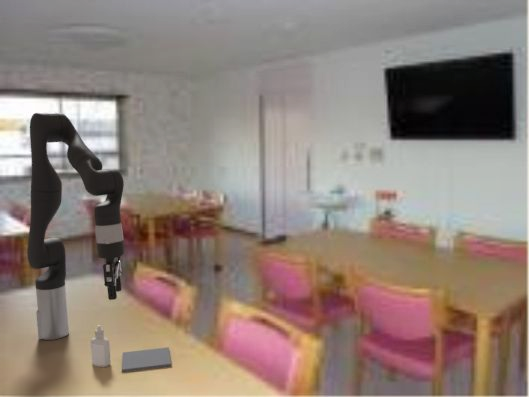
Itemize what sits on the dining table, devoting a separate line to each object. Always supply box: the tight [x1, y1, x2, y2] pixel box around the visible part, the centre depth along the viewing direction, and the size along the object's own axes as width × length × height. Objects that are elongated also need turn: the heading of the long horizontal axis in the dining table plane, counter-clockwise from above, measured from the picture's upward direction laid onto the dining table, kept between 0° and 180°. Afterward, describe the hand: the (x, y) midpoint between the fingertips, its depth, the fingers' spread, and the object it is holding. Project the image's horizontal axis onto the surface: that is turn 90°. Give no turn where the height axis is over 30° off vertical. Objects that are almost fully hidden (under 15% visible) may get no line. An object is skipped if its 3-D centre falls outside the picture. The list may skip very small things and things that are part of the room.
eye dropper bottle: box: [90, 324, 112, 368], centre depth 158 cm, size 4×6×12 cm
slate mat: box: [121, 347, 172, 373], centre depth 160 cm, size 14×12×1 cm
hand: (115, 295), depth 154 cm, fingers open, 8 cm apart
